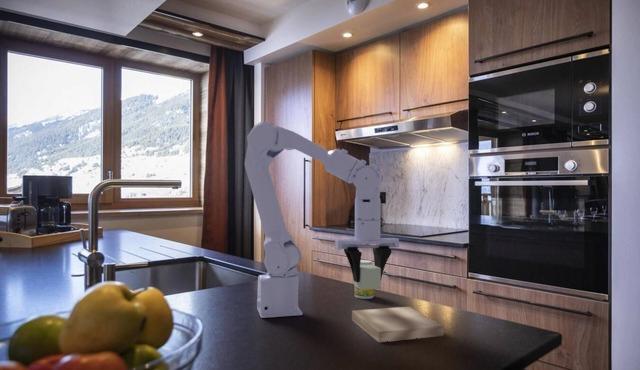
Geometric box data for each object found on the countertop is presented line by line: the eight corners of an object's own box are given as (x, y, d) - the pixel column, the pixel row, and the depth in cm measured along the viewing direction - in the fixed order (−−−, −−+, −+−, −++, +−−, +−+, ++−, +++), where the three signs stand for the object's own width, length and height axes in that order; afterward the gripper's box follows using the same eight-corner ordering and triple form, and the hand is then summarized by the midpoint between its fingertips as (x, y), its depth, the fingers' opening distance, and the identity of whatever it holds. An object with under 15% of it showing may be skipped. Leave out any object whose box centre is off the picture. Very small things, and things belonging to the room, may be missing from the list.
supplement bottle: (365, 293, 115) (366, 258, 115) (378, 297, 111) (378, 261, 111) (350, 295, 112) (350, 260, 112) (362, 300, 108) (363, 263, 108)
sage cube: (361, 289, 89) (361, 269, 89) (354, 285, 94) (354, 265, 94) (380, 288, 90) (380, 268, 91) (372, 284, 95) (372, 264, 95)
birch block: (378, 345, 78) (379, 331, 78) (351, 322, 91) (352, 310, 91) (443, 338, 82) (443, 326, 82) (408, 317, 95) (408, 306, 95)
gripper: (342, 221, 86) (342, 286, 86) (405, 220, 90) (405, 282, 90) (332, 219, 93) (332, 279, 93) (391, 218, 97) (391, 276, 97)
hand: (367, 280), depth 92 cm, fingers closed on sage cube, 4 cm apart
